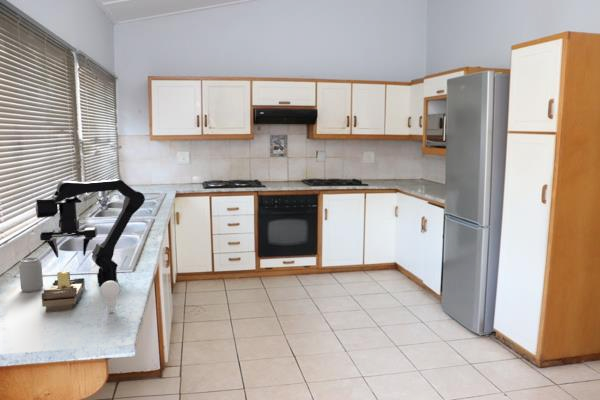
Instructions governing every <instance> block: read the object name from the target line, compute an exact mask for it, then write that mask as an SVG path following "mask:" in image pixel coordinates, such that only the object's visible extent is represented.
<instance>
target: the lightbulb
mask: <svg viewBox="0 0 600 400" xmlns="http://www.w3.org/2000/svg"><path fill="white" fill-rule="evenodd" d="M120 290H121V289H120V284H118V282H117V283H116V282H115V281H106V282H104V283H103V284H102V286H100V288H99V293H100V295H101V297H102V298H103V299H104V303H105V306H106V311H107V312H108V313H110V314H113V313H114V312H115V311H116V304H117V298H118V296H119V294H120Z"/></svg>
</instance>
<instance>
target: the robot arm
mask: <svg viewBox="0 0 600 400" xmlns="http://www.w3.org/2000/svg"><path fill="white" fill-rule="evenodd" d="M107 191H117V192H119V193H120V194H122V196H123V197H124V200H123V204H122V209H121V211H120V213H119V215H118V217H117V218H116V219H115V221H114V224H113V225H112V227H111V228H110V231H109V232H108V234H107V236H106V238H105V239H104V241H103V242H102V243H101V244H99V243H96V244H95V247H94V249H93V250H92V251H91V254H92V255H91V259H92V262H93V263H95V265H96V266H97V267H98V271H97V274H96V275H97V276H96V277H97V284H98V287H101V286H102V284H103V283H104V282H106V281H115V282H116V283H118V281H119V279H118V273H117V269H118V264H117V263H116V262H115V261H114V260H113V257H114V252H115V248H116V245H117V243H118V242H119V240H120V239H121V237H122V234H123V233H124V231H125V229H126V228H127V226H128V224H129V222H130V220H131V219H132V216H134V215H135V213H137V212H138V210H140V208H141V207H142V206H143V205H144V203H145V201H146V198H145V195H144V194H143V193H142V192H140V191H138V190H135V189H133V188H132V187H131V186H129V185H128V184H126V183H125V181H123V179H119V178H115V179H109V180H108V179H106V180H96V181H85V182H84V181H83V182H82V181H74V180H73V181H72V180H63V181H59V182H58V184H57V185H56V190H55V192H54V194H53V195H52V196H51V198H36V201H35V202H36V203H35V215H36V219H40V218H41V219H42V218H45V219H46V218H53V217H55V216H56V215H57V214H59V219H58V228H59V229H60V231H55V229H43V230H42V231H41V233H40V234H39V236H40V237H39V239H40V241H44V243H47V244H48V245H49V246H50V248H51V250H52V251H53V253H54V255H55V257H56V258H59V249H58V243H57V238H60V237H80V236H83V243H82V244H83V245H82V249H83V250H82V254H83V256H86V253H87V249H88V246H89V243H90V241H92V240H93V239H94V238H96V237H97V236H98V229H97V227H85V228H84V230H80V221H79V220H78V215H77V204H79V203H82V200H81V199H79V198H78V196H81V195H83V194H86V193H87V194H89V193H99V192H107Z"/></svg>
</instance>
